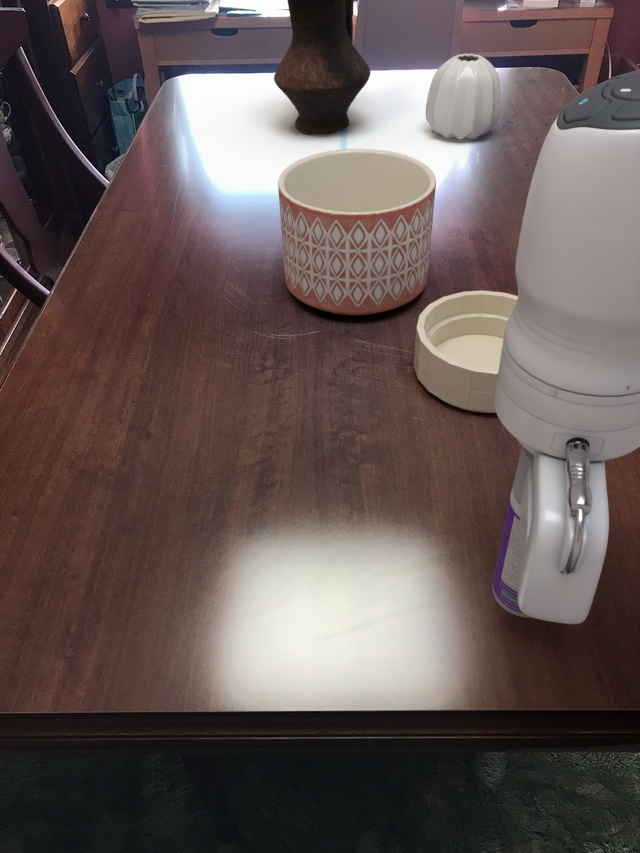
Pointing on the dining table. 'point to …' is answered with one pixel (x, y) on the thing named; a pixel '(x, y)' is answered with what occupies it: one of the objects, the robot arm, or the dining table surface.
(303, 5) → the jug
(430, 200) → the planter
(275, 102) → the dining table surface
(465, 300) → the bowl
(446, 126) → the vase
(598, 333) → the robot arm
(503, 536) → the container
